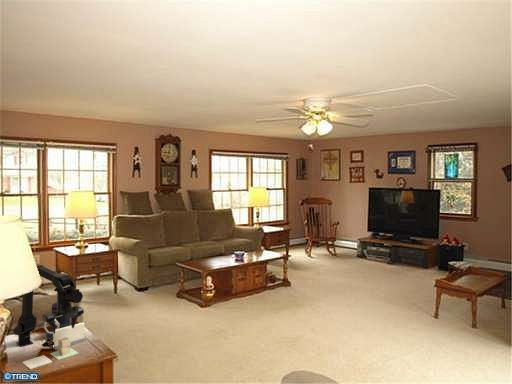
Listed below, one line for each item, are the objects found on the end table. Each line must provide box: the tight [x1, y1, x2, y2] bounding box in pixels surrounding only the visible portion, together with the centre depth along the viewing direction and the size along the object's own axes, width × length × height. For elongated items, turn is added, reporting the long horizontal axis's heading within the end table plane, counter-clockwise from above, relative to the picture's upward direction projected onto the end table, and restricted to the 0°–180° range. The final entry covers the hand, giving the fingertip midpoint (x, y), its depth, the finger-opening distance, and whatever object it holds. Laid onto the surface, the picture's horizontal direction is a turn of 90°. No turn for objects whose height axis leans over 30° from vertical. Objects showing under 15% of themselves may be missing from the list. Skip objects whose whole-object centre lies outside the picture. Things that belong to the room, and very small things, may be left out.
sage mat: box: [49, 347, 79, 361], centre depth 211 cm, size 10×10×1 cm
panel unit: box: [53, 321, 87, 351], centre depth 226 cm, size 12×16×10 cm
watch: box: [43, 319, 60, 340], centre depth 231 cm, size 6×8×11 cm
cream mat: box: [21, 354, 53, 370], centre depth 202 cm, size 10×10×1 cm
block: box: [57, 337, 71, 356], centre depth 211 cm, size 5×4×7 cm
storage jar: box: [51, 302, 71, 329], centre depth 243 cm, size 10×10×15 cm
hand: (63, 330), depth 211 cm, fingers open, 9 cm apart
